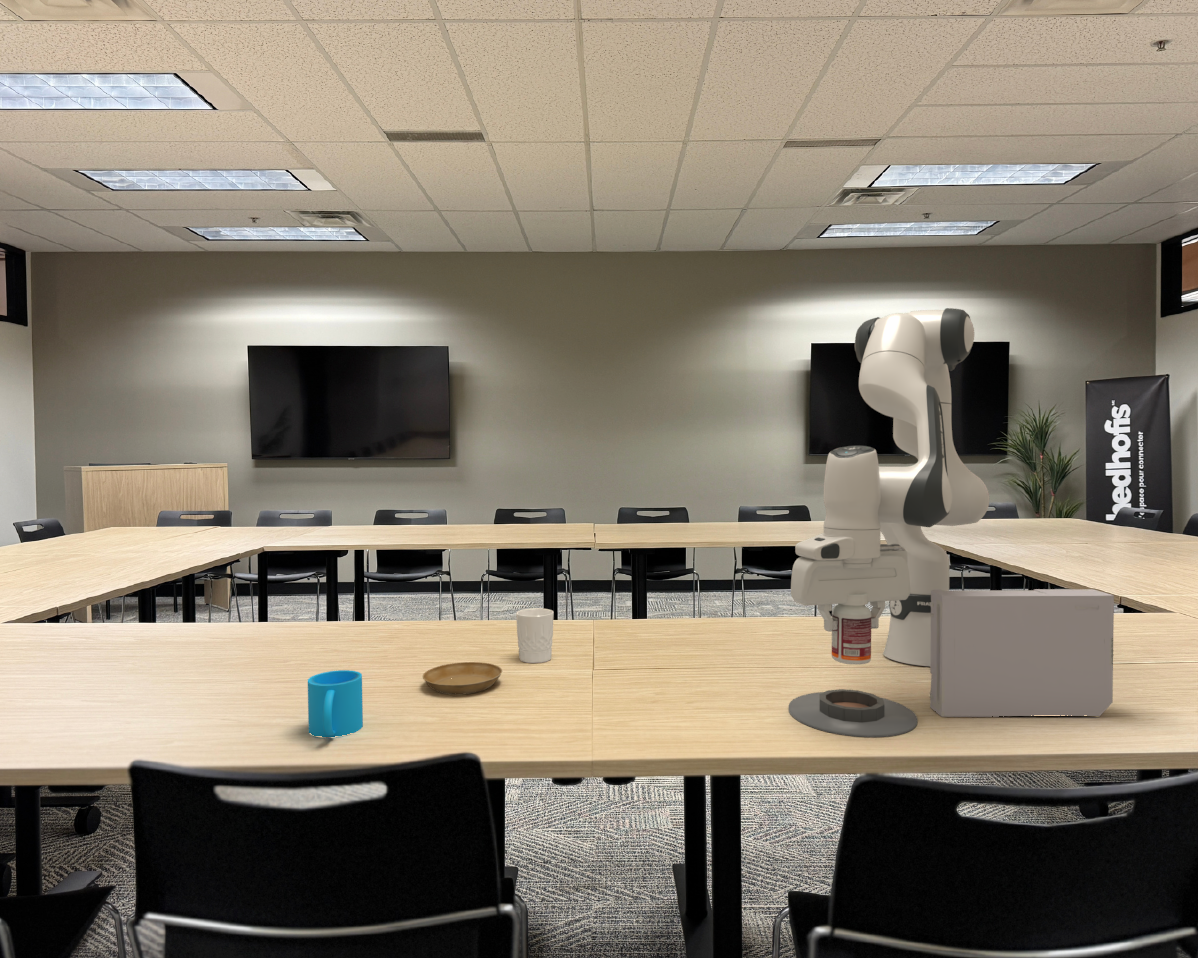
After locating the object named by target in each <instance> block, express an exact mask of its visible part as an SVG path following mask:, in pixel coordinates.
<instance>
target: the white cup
mask: <svg viewBox="0 0 1198 958" xmlns="http://www.w3.org/2000/svg"><path fill="white" fill-rule="evenodd" d="M515 615H516V619H515V620H516V634H517V635H516V636H517V645H518V658H519V660H520V662H523V663H528V664H541V663H546V662H548V661H550V660H551V659H552V655H553V654H552V651H553V650H552V649H553V648H552V647H553V638H554V637H553V636H554V610H552V609H548V608H541V607H540V608H538V607H537V608H535V607H534V608H533V607H532V608H524V609H521V610H517V612H515Z"/></svg>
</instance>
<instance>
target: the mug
mask: <svg viewBox="0 0 1198 958" xmlns="http://www.w3.org/2000/svg"><path fill="white" fill-rule="evenodd" d="M307 708H308V709H307V710H308V711H307V713H308V715H307V716H308V719H307V720H308V721H307V722H308V724H307V725H308V734H309V733H311V734H312V735H314V736H322V737H335V736H342V735H346V736H348V735H347V734H350V733H353V734H355V733H358V732H359V731H361V729H362V728H363V727H364V716H363V715H364V713H363V710H364V707H363V674H362V673H361V672H360V671H356V670H346V669H343V670H330V671H326V672H325V671H323V672H321V673H317V674H314V675H312V676H310V677H309V678H308V679H307ZM350 735H351V734H350ZM314 736H313V737H314ZM342 737H343V736H342Z"/></svg>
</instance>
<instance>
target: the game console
mask: <svg viewBox="0 0 1198 958" xmlns="http://www.w3.org/2000/svg"><path fill="white" fill-rule="evenodd" d="M930 606H931V613H930V616H931V664H930V666H929V667H930V674H931V679H930V692H929V700H930V701H929V702H930V703H929V705H930V706H929V707H930V709H932V710H933V711H934V712H935V711H936V712H935V713H937V714H938V715H939V716H940V717H942V718H947V717H949V718H951V717H953V718H965V717H967V718H972V717H973V718H974V717H975V718H983V717H984V718H990V717H991V718H1000V717H999V716H1003V717H1002V718H1005V717H1004V716H1031V715H1032V716H1034V715H1060V716H1061V715H1065V716H1067V715H1068V716H1071V715H1072V716H1084V715H1087V716H1099V717H1100V716H1101V715H1102V714H1103V713H1105V711H1107V709H1108V708H1109V707H1110V706H1111V705H1112V704H1113V700H1114V699H1113V696H1114V695H1113V693H1114V692H1113V691H1114V688H1113V687H1114V685H1113V684H1114V682H1113V681H1114V629H1115V627H1114V626H1115V625H1114V624H1115V623H1114V618H1115V617H1114V616H1115V615H1114V613H1115V609H1114V608H1115V595H1114V594H1110V593H1108V592H1105V591H1101V590H1097V589H1092V588H1088V589H1085V588H1084V589H1080V588H1079V589H1076V588H1075V589H1072V588H1069V589H1066V588H1065V589H1061V588H1058V589H1057V588H1055V589H1053V588H1052V589H1051V588H1050V589H1048V588H1047V589H1045V588H1043V589H1040V588H1038V589H1037V588H1036V589H1035V588H1034V589H1033V590H1032V589H1031V590H1027V589H1026V590H1024V589H1022V590H1020V589H1019V590H1013V589H1011V590H1007V589H1006V590H1003V589H1002V590H999V589H998V590H997V589H995V590H993V589H992V590H988V589H987V590H949V591H942V590H940V589H934V590H931V604H930ZM992 716H993V717H992Z"/></svg>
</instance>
